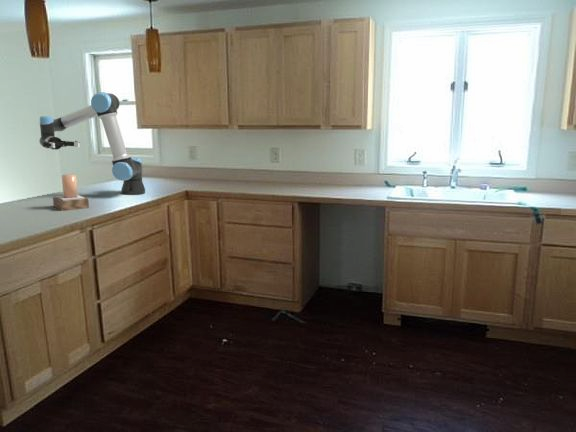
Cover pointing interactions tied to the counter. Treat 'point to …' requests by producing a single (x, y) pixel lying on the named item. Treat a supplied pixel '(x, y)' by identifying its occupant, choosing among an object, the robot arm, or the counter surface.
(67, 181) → the peach glossy cylinder
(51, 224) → the counter surface
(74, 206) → the walnut base
